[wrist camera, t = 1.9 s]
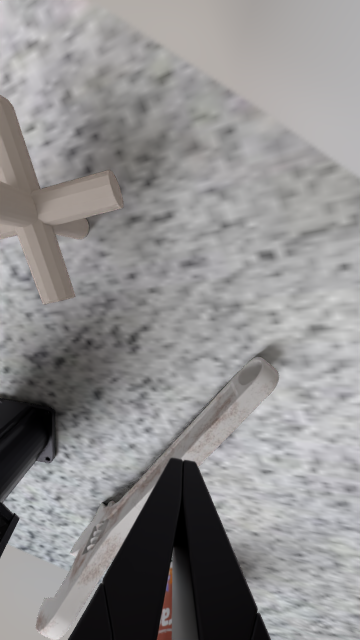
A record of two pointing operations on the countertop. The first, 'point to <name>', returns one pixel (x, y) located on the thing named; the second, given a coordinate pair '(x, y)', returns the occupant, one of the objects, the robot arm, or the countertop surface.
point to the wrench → (119, 518)
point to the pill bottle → (166, 612)
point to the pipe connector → (46, 209)
